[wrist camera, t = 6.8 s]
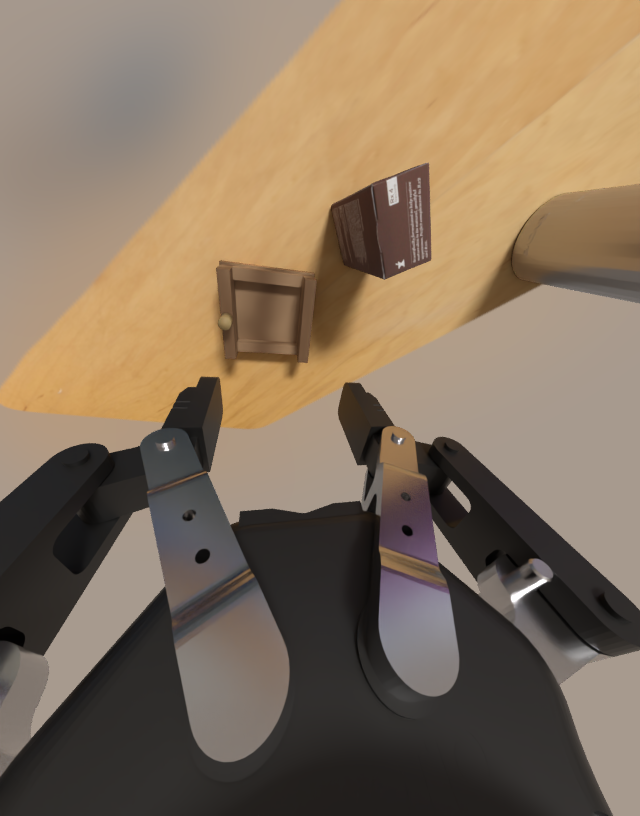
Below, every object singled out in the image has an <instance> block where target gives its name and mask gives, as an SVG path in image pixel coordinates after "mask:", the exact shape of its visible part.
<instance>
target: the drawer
mask: <svg viewBox="0 0 640 816" xmlns="http://www.w3.org/2000/svg"><path fill="white" fill-rule="evenodd" d="M219 264H220V266H218V267H217V268H216V272H217V282H218V291H219V301H220V311H221V317H220V319H219V321H218V326H219V327H220V328H221V329H222V331H223V340H224V350H225V359H236V357H237V353H238V351H240V352H257V353H275V354H292V355H297V359H298V362H303V363H308V355H309V346H310V337H311V328H312V319H313V311H314V302H315V293H316V284H317V280H316V279H315V278H314V273H311V272H303V271H296V270H288V269H281V268H273V267H265V266H258V265H250V264H243V263H235V262H228V261H219Z"/></svg>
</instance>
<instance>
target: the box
mask: <svg viewBox="0 0 640 816" xmlns="http://www.w3.org/2000/svg"><path fill="white" fill-rule="evenodd" d="M331 209H332V214H333V219H334V223H335V228H336V232H337V237H338V241H339V246H340V250H341V254H342V259H343V263H344V265H345V266H348V267H351V268H354V269H357V270H359V271H362V272H365V273H368V274H371V275H374V276H376V277H379V278H382V279H384V280H385V279H387V278H389V277H392V276H394V275H396V274H399V273H401V272H404V271H406V270H408V269H411V268H413V267H416V266H418V265H421V264H423V263H426V262H428V261H430V260H431V223H430V186H429V163H425V164H422V165H419V166H417V167H414V168H411V169H408V170H406V171H403V172H401V173H398V174H396V175H394V176H391V177H388V178H385V179H382V180H379V181H377V182H374V183H372V184H371V185H369V186H367V187H365V188H363V189H362V190H360V191H358V192H356V193H354V194H352V195H350V196H348V197H346V198H344V199H342V200H340V201H338V202H336V203H334V204H332V206H331Z"/></svg>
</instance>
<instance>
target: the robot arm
mask: <svg viewBox="0 0 640 816" xmlns="http://www.w3.org/2000/svg"><path fill="white" fill-rule="evenodd" d="M512 268H513V270H514V273H515V274H516V276H517V277H518V278H520V279H522V280H525V281H530V282H535V283H540V284H545V285H550V286H554V287H560V288H565V289H570V290H575V291H580V292H585V293H590V294H595V295H600V296H605V297H610V298H615V299H620V300H625V301H630V302H635V303H640V184H635V185H627V186H619V187H611V188H602V189H594V190H587V191H579V192H571V193H564V194H561V195H558V196H555V197H554V198H552V199H550V200H549V201H547V202H546V203H545V204H543V205H542V206H541V207H540V208H539V209H538V210H537V211H536V212H535V213H534V214H533V215H532V216H531V217H530V219H529V220H528V221H527V223H526V224H525V225H524V227H523V229H522V231H521V232H520V234H519V236H518V239H517V241H516V243H515V246H514V250H513V254H512ZM222 414H223V405H222V395H221V386H220V379H219V377H201V378H200V380H199V382H198V384H197V387H188V388H186V389H185V390H184V391H182V392H181V393H180V394H179V396H178V397H177V399H176V402H175V403H174V405H173V408H172V409H171V411H170V413H169V415H168V417H167V419H166V421H165V423H164V425H163V426H162V428H161V429H160V430H157V431H155V432H152V433H151V434H149V435H148V436H146V437H145V438H144V439H143V440H142V442H141V444H140V446H138V447H135V448H131V449H126V450H122V451H117V452H113V453H109V452H108V450H107V448H106V447H105V446H103V445H100V444H96V443H88V444H81V445H77V446H73V447H70V448H68V449H65V450H63V451H61V452H59V453H57V454H56V455H54V456H53V457H52V458H50V459H49V460H48V461H47V462H46V463H45V464H43V465H42V466H41V467H40V468H39V469H38V470H37V471H35V472H34V473H33V474H32V475H31V476H30V477H28V478H27V479H26V480H25V481H24V482H23V483H22V484H20V485H19V486H18V487H17V488H16V489H15V490H14V491H13V492H11V493H10V494H9V495H8V496H7V497H5V498H4V499H3V500H2V501H1V502H0V816H613V815H612V813H611V810H610V808H609V806H608V804H607V802H606V800H605V798H604V796H603V794H602V792H601V790H600V787H599V785H598V783H597V781H596V779H595V776H594V774H593V772H592V769H591V767H590V765H589V762H588V760H587V758H586V755H585V752H584V750H583V747H582V745H581V742H580V740H579V737H578V734H577V731H576V728H575V725H574V722H573V719H572V716H571V713H570V710H569V707H568V704H567V701H566V699H565V697H564V695H563V692H562V690H561V688H560V686H559V685H560V684H561V683H563V682H564V681H565V680H566V679H568V678H569V677H570V676H571V675H573V674H574V673H575V672H577V671H578V670H579V669H581V668H582V667H583V666H584V665H586V664H587V663H591V662H595V661H599V660H603V659H607V658H611V657H615V656H619V655H623V654H627V653H631V652H635V651H639V650H640V610H639V609H638V608H637V607H636V606H635V605H634V604H633V603H632V602H631V601H630V600H629V599H628V598H627V597H626V596H625V595H624V594H623V593H622V592H620V591H619V590H618V589H617V588H616V587H615V586H614V585H613V584H612V583H611V582H610V581H608V580H607V579H606V578H605V577H604V576H603V575H602V574H601V573H600V572H599V571H598V570H597V569H596V568H594V567H593V566H592V565H591V564H590V563H589V562H588V561H587V560H586V559H585V558H584V557H583V556H581V555H580V554H579V553H578V552H577V551H576V550H575V549H574V548H573V547H572V546H571V545H569V544H568V543H567V542H566V541H565V540H564V539H563V538H562V537H561V536H560V535H559V534H557V532H555V531H554V530H553V529H552V528H551V527H550V526H549V525H548V524H547V523H546V522H545V521H544V520H542V519H541V518H540V517H539V516H538V515H537V514H536V513H535V512H534V511H533V510H532V509H531V508H529V507H528V506H527V505H526V504H525V503H524V502H523V501H522V500H521V499H520V498H519V497H517V496H516V495H515V494H514V493H513V492H512V491H511V490H510V489H509V488H508V487H507V486H506V485H505V484H503V483H502V482H501V481H500V480H499V479H498V478H497V477H496V476H495V475H494V474H493V473H492V472H490V471H489V470H488V469H487V468H486V467H485V466H484V465H483V464H482V463H481V462H480V461H479V460H477V459H476V458H475V457H474V456H473V455H472V454H471V453H470V452H469V451H468V450H467V449H466V448H464V447H463V446H462V445H461V444H460V443H458V442H456V441H455V440H452V439H450V438H446V437H438V438H436V439H435V440H434V442H433V444H432V445H429V444H425V443H420V442H416V441H415V439H414V437H413V436H412V435H411V434H410V433H409V432H408V431H406V430H404V429H402V428H400V427H396V426H394V424H393V423H392V421H391V420H390V418H389V417H388V415H387V414H386V412H385V411H384V409H383V408H382V406H380V404H379V402H378V400H377V399H376V398H375V397H374V396H373V395H371V394H370V393H366V392H365V390H364V388H363V387H362V385H361V384H360V383H345V384H344V386H343V391H342V395H341V399H340V403H339V408H338V416H339V420H340V422H341V425H342V427H343V430H344V432H345V435H346V437H347V440H348V442H349V445H350V447H351V450H352V453H353V455H354V458H355V460H356V463H357V465H367V467H368V469H367V471H366V475H365V482H364V488H363V496H362V503H360V501H355V502H344V503H333V504H330V505H328V506H325V507H322V508H319V509H317V510H314V511H311V512H308V513H296V512H290V511H284V510H277V509H264V510H251V511H240V518H239V522H236V523H234V524H231V525H230V523H229V521H228V519H227V516H226V514H225V512H224V510H223V507H222V505H221V503H220V501H219V498H218V496H217V494H216V491H215V489H214V487H213V485H212V482H211V480H210V478H209V476H208V473H207V472H210V470H211V465H212V460H213V456H214V452H215V447H216V443H217V439H218V434H219V430H220V425H221V421H222ZM451 481H453V482H454V483H455V485H456V486H457V487H458V488H459V489H460V490H461V491H462V492H463V493H464V495H465V496H466V497H467V498H468V499H469V501H470V504H471V510H470V512H469V513H468V512H467V511H466V510H465V509H464V507H463V506H462V505H461V504H460V503H459V502H458V501H457V499H456V498H455V497H454V496H453V494H451V492H450V491H449V490H448V489H447V486H448V485H449V484H450V482H451ZM148 507H149V508H150V512H151V518H152V523H153V528H154V533H155V537H156V543H157V548H158V553H159V557H160V562H161V567H162V572H163V577H164V582H165V587H164V588H163V589H162V590H161V591H160V593H159V594H158V595H157V596H156V597H155V598H154V599H153V601H152V602H151V603H150V604H149V605H148V606H147V607H146V609H145V610H144V611H143V612H142V613H141V614H140V615H139V617H138V618H137V619H136V620H135V621H134V622H133V623H132V624H131V626H130V627H129V628H128V629H127V630H126V631H125V633H124V634H123V635H122V636H121V637H120V638H119V639H118V640H117V642H116V643H115V644H114V645H113V646H112V647H111V649H109V651H108V652H107V653H106V654H105V655H104V656H103V658H102V659H101V660H100V661H99V662H98V663H97V664H96V665H95V667H94V668H93V669H92V670H91V671H90V672H89V673H88V675H87V676H86V677H85V678H84V679H83V680H82V681H81V683H80V684H79V685H78V686H77V687H76V688H75V689H74V690H73V692H72V693H71V694H70V695H69V696H68V697H67V698H66V700H65V701H64V702H63V703H62V704H61V705H60V706H59V707H58V709H57V710H56V711H55V712H54V713H53V714H52V715H51V717H50V718H49V719H48V720H47V721H46V722H45V723H44V725H43V726H42V727H41V728H40V729H39V730H38V731H37V732H36V734H35V735H34V736H33V737H32V738H31V736H30V734H31V733H30V732H31V723H32V718H33V714H34V712H35V708H36V707H37V706H38V704H39V701H40V698H41V696H42V694H43V691H44V689H45V686H46V683H47V680H48V675H49V666H48V662H47V660H46V659H45V658H44V657H43V656H44V654H45V652H46V651H47V649H48V648H49V646H50V644H51V643H52V641H53V640H54V638H55V636H56V635H57V633H58V632H59V630H60V628H61V627H62V625H63V624H64V622H65V620H66V619H67V617H68V616H69V614H70V612H71V611H72V609H73V608H74V606H75V604H76V603H77V601H78V600H79V598H80V596H81V595H82V593H83V592H84V590H85V588H86V587H87V585H88V584H89V582H90V580H91V579H92V577H93V575H94V574H95V572H96V571H97V569H98V568H99V566H100V564H101V563H102V561H103V560H104V558H105V556H106V555H107V553H108V552H109V550H110V548H111V547H112V545H113V544H114V542H115V540H116V539H117V537H118V535H119V534H120V532H121V531H122V529H123V527H124V526H125V524H126V523H127V521H128V520H129V518H130V516H131V515H132V513H133V512H136V511H139V510H142V509H145V508H148ZM432 519H433V520H432ZM433 521H434V522H435V524H436V525H437V526H438V528H439V529H440V531H441V532H442V533H443V535H444V536H445V538H446V539H447V540H448V542H449V543H450V545H451V546H452V547H453V549H454V550H455V552H456V553H457V554H458V556H459V557H460V559H462V561H463V563H464V564H465V566H466V567H467V568H468V570H469V571H470V573H471V574H472V575H473V577H474V578H475V579H476V581H477V583H478V587H479V590H480V593H479V594H477V593H475V592H474V591H473V590H472V589H470V588H469V587H468V586H467V585H466V584H465V583H463V582H462V581H461V580H459V578H457V577H456V576H455V575H454V574H453V573H451V572H450V571H449V570H448V569H447V568H445V567H444V566H443V565H442V564H441V563H439V562H438V557H437V549H436V542H435V535H434V527H433Z"/></svg>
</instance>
